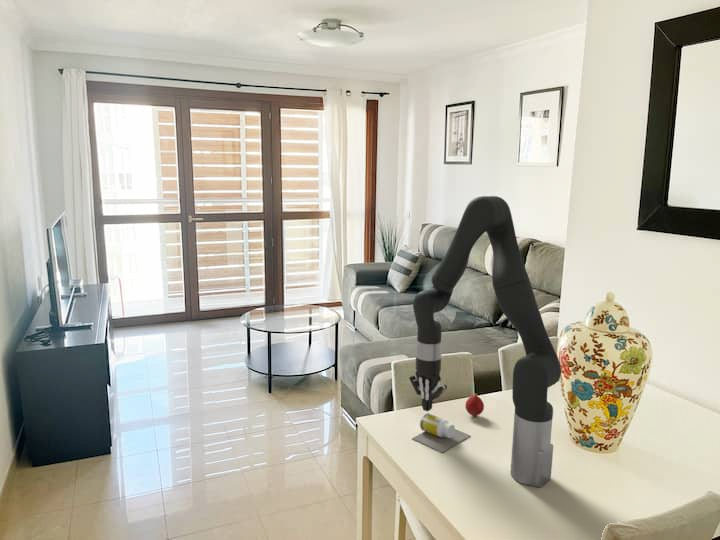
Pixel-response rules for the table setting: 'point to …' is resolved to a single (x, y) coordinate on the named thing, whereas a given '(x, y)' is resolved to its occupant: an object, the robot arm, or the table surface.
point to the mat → (440, 440)
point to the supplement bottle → (436, 425)
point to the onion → (474, 405)
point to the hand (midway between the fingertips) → (426, 409)
